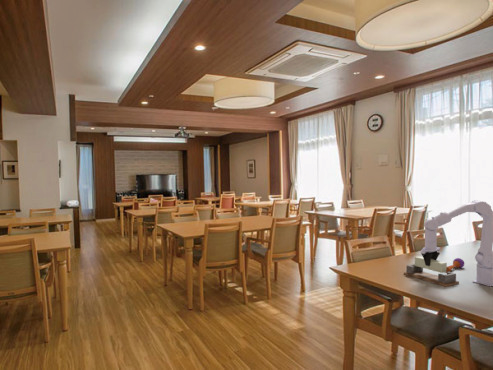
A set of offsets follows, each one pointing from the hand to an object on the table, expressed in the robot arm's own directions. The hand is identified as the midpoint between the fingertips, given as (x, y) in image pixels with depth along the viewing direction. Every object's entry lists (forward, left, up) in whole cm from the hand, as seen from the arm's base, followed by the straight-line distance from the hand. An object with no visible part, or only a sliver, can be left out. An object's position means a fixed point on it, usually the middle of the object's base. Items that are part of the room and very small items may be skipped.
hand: (430, 265), depth 186 cm
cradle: (0, 0, -8) cm, 8 cm away
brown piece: (+5, -31, -8) cm, 32 cm away
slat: (0, 0, -2) cm, 2 cm away
